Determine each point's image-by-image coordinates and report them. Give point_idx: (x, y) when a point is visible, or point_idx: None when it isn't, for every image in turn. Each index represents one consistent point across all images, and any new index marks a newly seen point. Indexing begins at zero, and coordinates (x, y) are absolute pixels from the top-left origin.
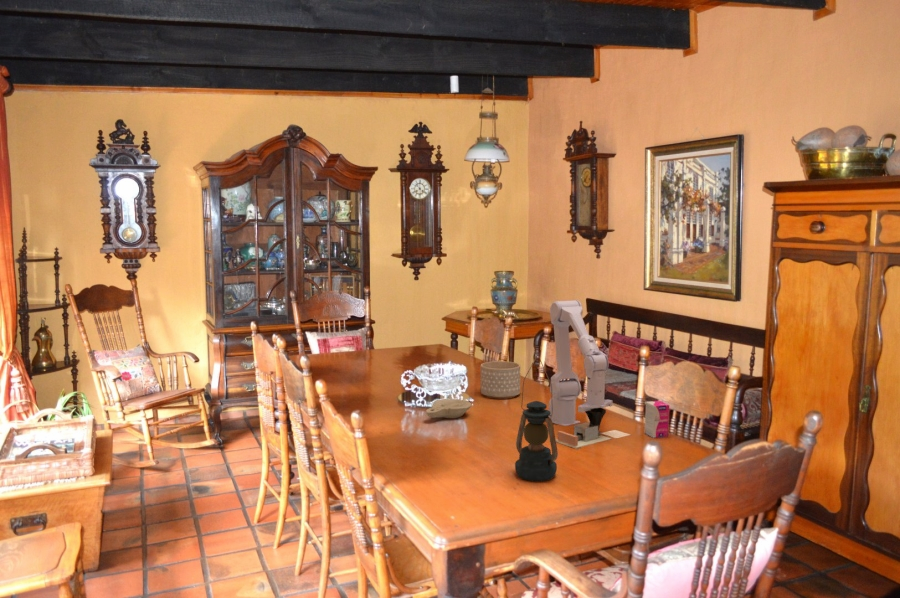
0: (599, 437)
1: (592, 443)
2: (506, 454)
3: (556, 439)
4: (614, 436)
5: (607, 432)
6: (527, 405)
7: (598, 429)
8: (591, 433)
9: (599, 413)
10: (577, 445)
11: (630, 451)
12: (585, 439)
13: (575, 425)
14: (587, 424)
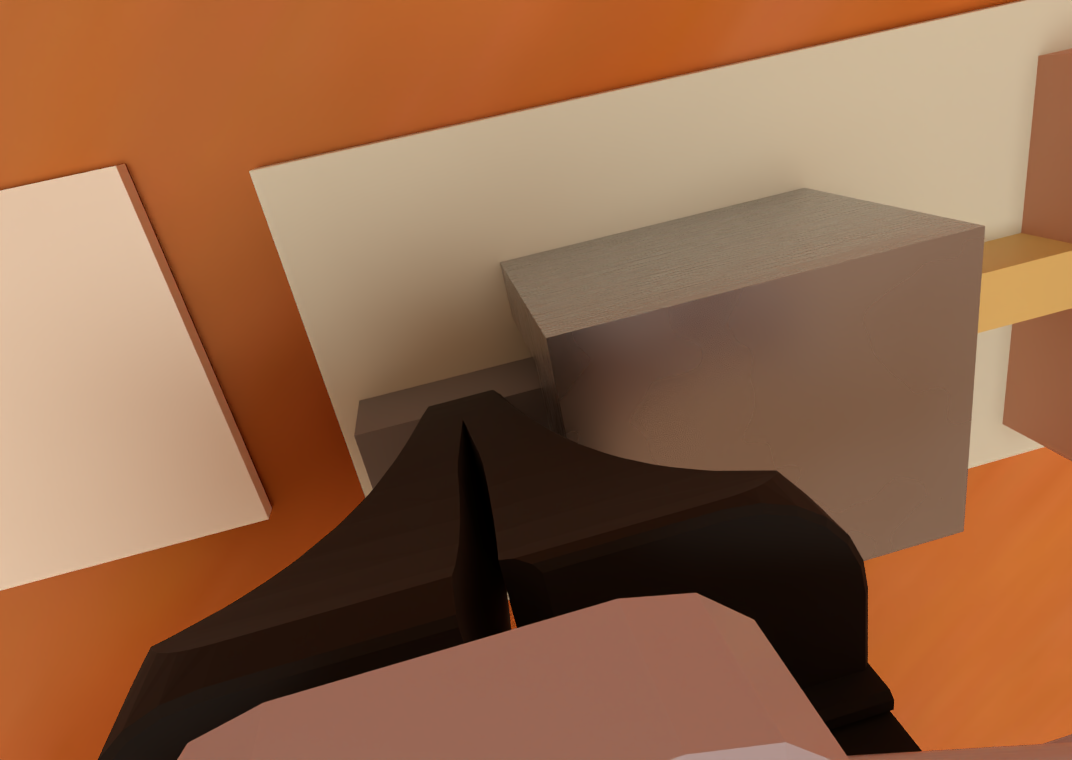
0: (436, 307)
1: (750, 62)
2: None
3: (1032, 444)
4: (100, 286)
5: (121, 527)
6: None
7: (431, 409)
8: (713, 244)
9: (603, 522)
10: (1048, 54)
11: None
12: (820, 194)
13: (960, 508)
14: None
